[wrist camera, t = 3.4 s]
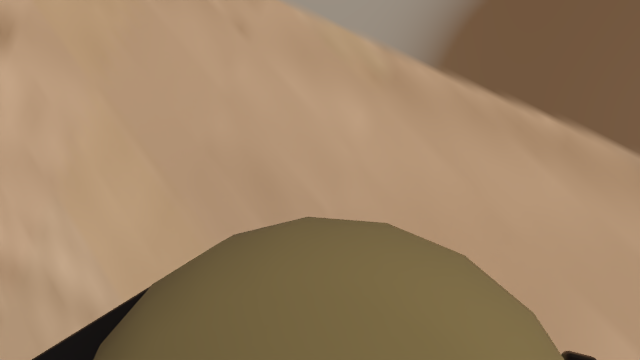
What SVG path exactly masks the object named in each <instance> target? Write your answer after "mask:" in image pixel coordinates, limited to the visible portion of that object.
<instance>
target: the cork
mask: <svg viewBox="0 0 640 360" xmlns="http://www.w3.org/2000/svg"><path fill="white" fill-rule="evenodd" d="M93 360H564V358H563V357H562V355H561V354H560V352H559V351H558V349H557V348H556V346H555V345H554V343H553V342H552V340H551V339H550V337H549V336H548V334H547V333H546V331H545V330H544V328H543V327H542V325H541V324H540V322H539V321H538V319H537V318H536V316H535V314H534V313H533V312H532V311H531V310H529V309H528V308H527V307H526V306H525V305H523V304H522V303H521V302H520V301H519V300H517V299H516V298H515V297H514V296H513V295H511V294H510V293H509V292H508V291H507V290H505V289H504V288H503V287H502V286H501V285H499V284H498V283H497V282H496V281H495V280H493V279H492V278H491V277H490V276H489V275H487V274H486V273H485V272H484V271H482V270H481V269H480V268H479V267H478V266H476V265H475V264H474V263H473V262H472V261H470V260H469V259H468V258H467V257H466V256H464V255H462V254H460V253H457V252H455V251H453V250H450V249H448V248H445V247H443V246H441V245H438V244H436V243H433V242H431V241H428V240H426V239H424V238H421V237H419V236H416V235H414V234H412V233H409V232H407V231H404V230H402V229H399V228H397V227H395V226H392V225H390V224H387V223H378V222H365V221H353V220H340V219H328V218H316V217H305V218H301V219H297V220H293V221H289V222H285V223H281V224H277V225H272V226H268V227H264V228H260V229H256V230H252V231H248V232H244V233H239V234H235V235H233V236H231V237H229V238H227V239H226V240H224V241H222V242H220V243H219V244H217V245H215V246H214V247H212V248H211V249H209V250H207V251H206V252H204V253H202V254H201V255H199V256H198V257H196V258H194V259H193V260H191V261H189V262H188V263H186V264H185V265H183V266H181V267H180V268H178V269H177V270H175V271H173V272H172V273H170V274H168V275H167V276H165V277H164V278H162V279H160V280H159V281H157V282H155V283H154V284H152V286H151V287H150V288H149V289H148V290H147V291H146V293H145V294H144V295H143V296H142V297H141V298H140V299H139V301H138V302H137V303H136V304H135V305H134V306H133V308H132V309H131V310H130V311H129V312H128V313H127V314H126V316H125V317H124V318H123V319H122V320H121V321H120V323H119V324H118V325H117V326H116V327H115V328H114V329H113V331H112V332H111V333H110V334H109V335H108V336H107V337H106V339H105V340H104V341H103V342H102V343H101V344H100V346H99V348H98V350H97V353H96V355H95V357H94V359H93Z"/></svg>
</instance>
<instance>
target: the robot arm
mask: <svg viewBox="0 0 640 360" xmlns="http://www.w3.org/2000/svg"><path fill="white" fill-rule="evenodd" d="M150 287H151V286H150ZM150 287H149V288H150ZM149 288H147V289H145V290H144V291H142V292H140V293H139V294H137V295H136V296H134V297H132V298H131V299H129V300H127V301H126V302H124V303H123V304H121V305H119V306H118V307H116V308H115V309H113V310H111V311H110V312H108V313H106V314H105V315H103V316H102V317H100V318H98V319H97V320H95V321H93V322H92V323H90V324H89V325H87V326H85V327H84V328H82V329H81V330H79V331H77V332H76V333H74V334H72V335H71V336H69V337H68V338H66V339H64V340H63V341H61V342H59V343H58V344H56V345H55V346H53V347H51V348H50V349H48V350H47V351H45V352H43V353H42V354H40V355H38V356H37V357H35V358H34V359H32V360H93V359H94V357H95V355H96V353H97V350H98V348H99V346H100V344H101V343H102V342H103V341H104V340H105V339H106V337H107V336H108V335H109V334H110V333H111V332H112V331H113V329H114V328H115V327H116V326H117V325H118V324H119V323H120V321H121V320H122V319H123V318H124V317H125V316H126V314H127V313H128V312H129V311H130V310H131V309H132V308H133V306H134V305H135V304H136V303H137V302H138V301H139V299H140V298H141V297H142V296H143V295H144V294H145V293H146V291H147V290H148V289H149ZM562 357H563V358H564V360H596V359H595V358H594V357H591V356H587V355H583V354H579V353H575V352H572V351H565V352H563V353H562Z"/></svg>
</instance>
